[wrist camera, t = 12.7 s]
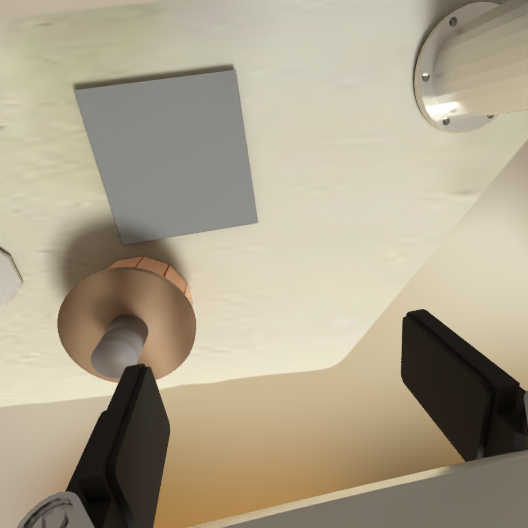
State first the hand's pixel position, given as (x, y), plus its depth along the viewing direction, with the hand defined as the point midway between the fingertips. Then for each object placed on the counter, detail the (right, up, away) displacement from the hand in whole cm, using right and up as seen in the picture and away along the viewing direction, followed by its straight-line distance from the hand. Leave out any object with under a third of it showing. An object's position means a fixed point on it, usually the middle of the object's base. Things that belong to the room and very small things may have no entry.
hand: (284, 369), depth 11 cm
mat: (-10, +15, +23) cm, 30 cm away
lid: (-15, -3, +23) cm, 28 cm away
